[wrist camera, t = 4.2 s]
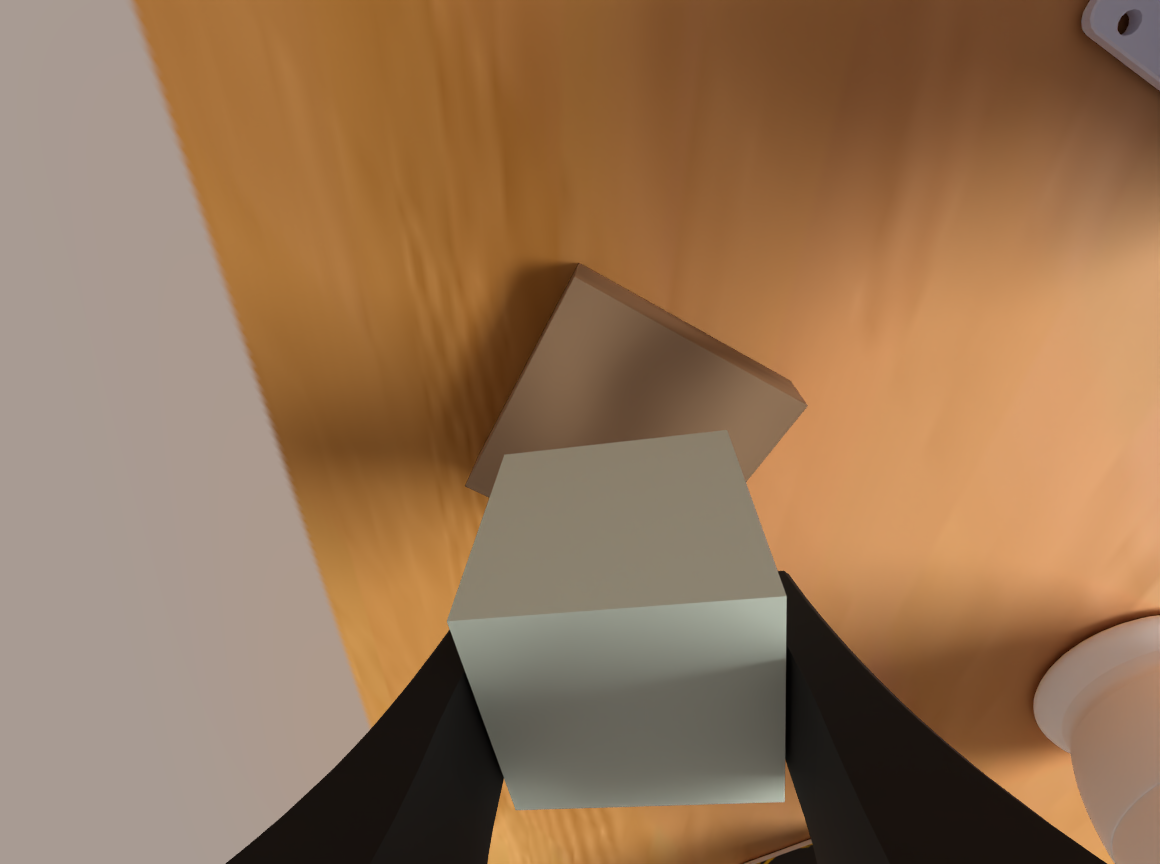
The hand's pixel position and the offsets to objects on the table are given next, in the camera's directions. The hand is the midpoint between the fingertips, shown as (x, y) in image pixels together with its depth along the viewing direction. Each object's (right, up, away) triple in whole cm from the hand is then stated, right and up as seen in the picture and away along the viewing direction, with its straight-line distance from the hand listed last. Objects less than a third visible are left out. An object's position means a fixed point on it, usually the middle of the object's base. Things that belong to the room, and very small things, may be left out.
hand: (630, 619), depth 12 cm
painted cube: (0, +1, +2) cm, 3 cm away
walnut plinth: (+1, +4, +8) cm, 9 cm away
